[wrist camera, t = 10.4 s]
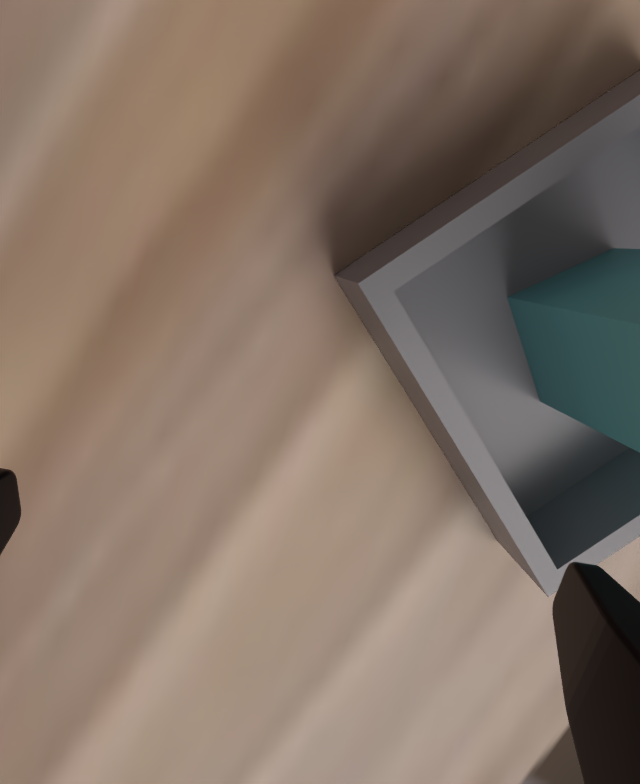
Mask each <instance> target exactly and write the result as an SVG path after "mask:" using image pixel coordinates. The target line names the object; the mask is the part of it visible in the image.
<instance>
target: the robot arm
mask: <svg viewBox="0 0 640 784" xmlns="http://www.w3.org/2000/svg"><path fill="white" fill-rule="evenodd" d="M20 517H21V505H20V498H19V492H18V485H17V478H16V475H15V474H14V472H13V471H11V470H9V469H3V468H0V555H1V553H2V551H3V550H4V548H5V546H6V544H7V543H8V541H9V539H10V538H11V536H12V534H13V532H14V531H15V529H16V527H17V525H18V523H19V521H20ZM553 621H554V628H555V636H556V643H557V650H558V657H559V665H560V672H561V679H562V686H563V694H564V700H565V706H566V712H567V716H568V720H569V725H570V729H571V733H572V737H573V741H574V745H575V749H576V753H577V757H578V761H579V765H580V769H581V772H582V777H583V781H584V784H640V602H639V601H638V600H637V599H635V598H634V597H633V596H632V595H631V594H630V593H629V592H628V591H626V590H625V589H624V588H623V587H622V586H621V585H620V584H619V583H617V582H616V581H615V580H614V579H613V578H612V577H611V576H610V575H609V574H607V573H606V572H605V571H604V570H603V569H602V568H600V567H599V566H597V565H592V564H586V563H580V562H572V563H570V564H569V565H568V566H567V568H566V570H565V573H564V575H563V578H562V580H561V583H560V585H559V588H558V591H557V593H556V596H555V598H554V602H553Z"/></svg>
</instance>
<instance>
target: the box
mask: <svg viewBox="0 0 640 784" xmlns="http://www.w3.org/2000/svg"><path fill="white" fill-rule="evenodd" d="M613 248H621V249H640V70H639V71H637V72H636V73H635V74H633V75H632V76H630V77H629V78H627V79H626V80H624V81H623V82H621V83H620V84H618V85H617V86H615V87H614V88H612V89H611V90H609V91H608V92H606V93H605V94H603V95H602V96H600V97H599V98H597V99H596V100H594V101H593V102H591V103H590V104H588V105H587V106H585V107H584V108H582V109H581V110H579V111H578V112H576V113H575V114H573V115H572V116H570V117H569V118H568V119H566V120H565V121H563V122H562V123H560V124H559V125H557V126H556V127H554V128H553V129H551V130H550V131H548V132H547V133H545V134H544V135H542V136H541V137H539V138H538V139H536V140H535V141H533V142H532V143H530V144H529V145H527V146H526V147H524V148H523V149H521V150H520V151H518V152H517V153H515V154H514V155H512V156H511V157H509V158H508V159H506V160H505V161H503V162H502V163H500V164H499V165H498V166H496V167H495V168H493V169H492V170H490V171H489V172H487V173H486V174H484V175H483V176H481V177H480V178H478V179H477V180H475V181H474V182H472V183H471V184H469V185H468V186H466V187H465V188H463V189H462V190H460V191H459V192H457V193H456V194H454V195H453V196H451V197H450V198H448V199H447V200H445V201H444V202H442V203H441V204H439V205H438V206H436V207H435V208H433V209H432V210H430V211H429V212H428V213H426V214H425V215H423V216H422V217H420V218H419V219H417V220H416V221H414V222H413V223H411V224H410V225H408V226H407V227H405V228H404V229H402V230H401V231H399V232H398V233H396V234H395V235H393V236H392V237H390V238H389V239H387V240H386V241H384V242H383V243H381V244H380V245H378V246H377V247H375V248H374V249H372V250H371V251H369V252H368V253H366V254H365V255H363V256H362V257H361V258H359V259H358V260H356V261H355V262H353V263H352V264H350V265H349V266H347V267H346V268H344V269H343V270H341V271H340V272H338V273H337V274H335V275H334V277H335V278H336V280H337V282H338V283H339V285H340V286H341V288H342V290H343V291H344V293H345V294H346V296H347V298H348V299H349V301H350V303H351V304H352V306H353V307H354V309H355V311H356V312H357V314H358V315H359V317H360V319H361V320H362V322H363V324H364V325H365V327H366V328H367V330H368V332H369V333H370V335H371V337H372V338H373V340H374V341H375V343H376V345H377V346H378V348H379V349H380V351H381V353H382V354H383V356H384V358H385V359H386V361H387V362H388V364H389V366H390V367H391V369H392V370H393V372H394V374H395V375H396V377H397V379H398V380H399V382H400V383H401V385H402V387H403V388H404V390H405V392H406V393H407V395H408V396H409V398H410V400H411V401H412V403H413V404H414V406H415V408H416V409H417V411H418V413H419V414H420V416H421V417H422V419H423V421H424V422H425V424H426V426H427V427H428V429H429V430H430V432H431V434H432V435H433V437H434V438H435V440H436V442H437V443H438V445H439V447H440V448H441V450H442V451H443V453H444V455H445V456H446V458H447V459H448V461H449V463H450V464H451V466H452V468H453V469H454V471H455V472H456V474H457V476H458V477H459V479H460V481H461V482H462V484H463V485H464V487H465V489H466V490H467V492H468V493H469V495H470V497H471V498H472V500H473V502H474V503H475V505H476V506H477V508H478V510H479V511H480V513H481V514H482V516H483V518H484V519H485V521H486V523H487V524H488V526H489V527H490V529H491V531H492V532H493V534H494V536H495V537H496V539H497V540H498V542H499V543H500V544H501V546H502V547H503V548H504V549H505V550H506V551H507V552H508V553H509V554H510V555H511V557H512V558H513V559H514V560H515V561H516V562H517V563H518V564H519V565H520V566H521V568H522V569H523V570H524V571H525V572H526V573H527V574H528V575H529V576H530V578H531V579H532V580H533V581H534V582H535V583H536V584H537V585H538V586H539V587H540V589H541V590H542V591H543V592H544V593H545V594H546V595H547V596H548V597H549V596H550V595H552V594H553V593H555V592H556V591H558V588H559V585H560V583H561V580H562V578H563V575H564V573H565V570H566V568H567V566H568V565H569V564H570V563H572V562H580V563H586V564H592V565H597V564H599V563H600V562H602V561H603V560H605V559H606V558H608V557H609V556H611V555H612V554H614V553H615V552H617V551H618V550H620V549H621V548H623V547H624V546H626V545H627V544H629V543H630V542H632V541H633V540H635V539H636V538H638V537H639V536H640V453H639V452H637V451H635V450H633V449H631V448H630V447H628V446H626V445H624V444H622V443H620V442H618V441H616V440H614V439H612V438H610V437H608V436H606V435H604V434H602V433H600V432H598V431H597V430H595V429H593V428H591V427H589V426H587V425H585V424H583V423H581V422H579V421H577V420H575V419H573V418H571V417H569V416H567V415H565V414H564V413H562V412H560V411H558V410H556V409H554V408H552V407H550V406H548V405H546V404H544V403H542V402H540V399H539V396H538V393H537V390H536V387H535V383H534V380H533V377H532V374H531V371H530V368H529V365H528V362H527V358H526V355H525V352H524V349H523V346H522V343H521V340H520V336H519V333H518V330H517V327H516V324H515V321H514V318H513V314H512V311H511V308H510V305H509V302H508V299H507V297H509V296H511V295H513V294H515V293H517V292H520V291H522V290H524V289H526V288H528V287H530V286H533V285H535V284H537V283H539V282H541V281H544V280H546V279H548V278H550V277H552V276H554V275H557V274H559V273H561V272H563V271H565V270H567V269H570V268H572V267H574V266H576V265H578V264H581V263H583V262H585V261H587V260H589V259H591V258H594V257H596V256H598V255H600V254H602V253H604V252H607V251H609V250H611V249H613Z"/></svg>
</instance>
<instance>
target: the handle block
mask: <svg viewBox="0 0 640 784" xmlns="http://www.w3.org/2000/svg"><path fill="white" fill-rule="evenodd" d="M507 299H508V302H509V305H510V308H511V311H512V314H513V318H514V321H515V324H516V327H517V330H518V333H519V336H520V340H521V343H522V346H523V349H524V352H525V355H526V358H527V362H528V365H529V368H530V371H531V374H532V377H533V380H534V383H535V387H536V390H537V393H538V396H539V399H540V402H542V403H544V404H546V405H548V406H550V407H552V408H554V409H556V410H558V411H560V412H562V413H564V414H565V415H567V416H569V417H571V418H573V419H575V420H577V421H579V422H581V423H583V424H585V425H587V426H589V427H591V428H593V429H595V430H597V431H598V432H600V433H602V434H604V435H606V436H608V437H610V438H612V439H614V440H616V441H618V442H620V443H622V444H624V445H626V446H628V447H630V448H631V449H633V450H635V451H637V452H639V453H640V249H621V248H613V249H611V250H609V251H607V252H604V253H602V254H600V255H598V256H596V257H594V258H591V259H589V260H587V261H585V262H583V263H581V264H578V265H576V266H574V267H572V268H570V269H567V270H565V271H563V272H561V273H559V274H557V275H554V276H552V277H550V278H548V279H546V280H544V281H541V282H539V283H537V284H535V285H533V286H530V287H528V288H526V289H524V290H522V291H520V292H517V293H515V294H513V295H511V296H509V297H507Z"/></svg>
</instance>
